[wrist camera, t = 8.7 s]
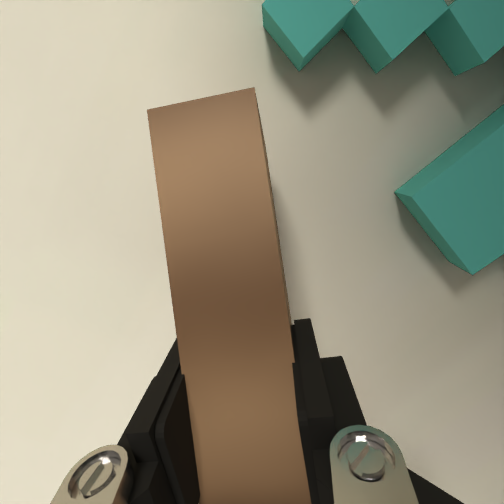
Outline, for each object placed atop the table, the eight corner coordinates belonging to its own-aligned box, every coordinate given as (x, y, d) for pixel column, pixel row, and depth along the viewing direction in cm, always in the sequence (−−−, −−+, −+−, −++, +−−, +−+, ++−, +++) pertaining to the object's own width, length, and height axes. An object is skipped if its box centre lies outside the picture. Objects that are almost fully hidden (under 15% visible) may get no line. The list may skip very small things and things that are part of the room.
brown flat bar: (192, 158, 12) (146, 109, 8) (265, 145, 12) (254, 87, 8) (248, 564, 12) (227, 724, 8) (326, 561, 11) (348, 727, 7)
